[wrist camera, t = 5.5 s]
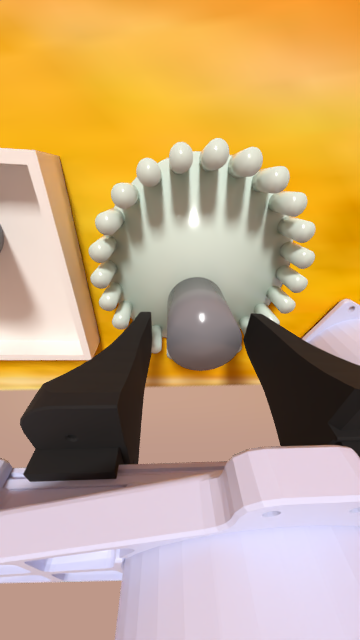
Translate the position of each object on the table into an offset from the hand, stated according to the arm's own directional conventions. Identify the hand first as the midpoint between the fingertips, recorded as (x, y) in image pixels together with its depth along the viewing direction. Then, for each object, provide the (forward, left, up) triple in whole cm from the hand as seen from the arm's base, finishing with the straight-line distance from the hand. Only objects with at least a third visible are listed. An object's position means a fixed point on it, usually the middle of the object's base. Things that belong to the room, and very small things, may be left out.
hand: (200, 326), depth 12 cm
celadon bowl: (+1, -2, -3) cm, 4 cm away
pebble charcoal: (0, 0, -3) cm, 3 cm away
